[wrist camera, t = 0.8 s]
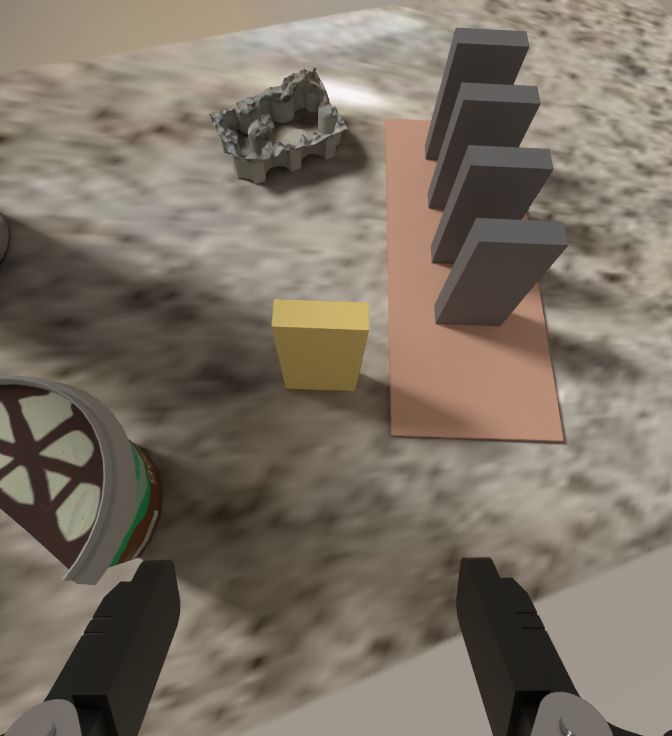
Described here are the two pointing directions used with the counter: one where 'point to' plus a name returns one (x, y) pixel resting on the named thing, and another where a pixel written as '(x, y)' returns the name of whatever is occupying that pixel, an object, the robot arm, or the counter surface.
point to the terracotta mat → (454, 328)
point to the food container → (74, 477)
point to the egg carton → (280, 107)
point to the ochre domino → (320, 342)
